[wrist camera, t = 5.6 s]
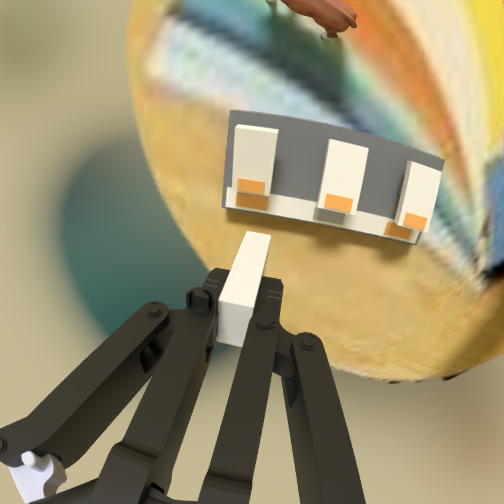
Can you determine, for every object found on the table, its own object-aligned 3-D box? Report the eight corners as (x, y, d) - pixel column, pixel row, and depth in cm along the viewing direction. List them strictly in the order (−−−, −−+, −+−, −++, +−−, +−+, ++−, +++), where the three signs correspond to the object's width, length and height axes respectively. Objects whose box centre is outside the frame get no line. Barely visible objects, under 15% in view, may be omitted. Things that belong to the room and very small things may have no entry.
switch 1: (278, 129, 25) (277, 133, 24) (270, 190, 29) (269, 196, 28) (237, 124, 25) (234, 128, 24) (234, 184, 30) (231, 190, 29)
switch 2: (436, 170, 24) (442, 171, 23) (422, 229, 27) (427, 233, 26) (407, 160, 25) (412, 161, 24) (394, 222, 27) (398, 225, 26)
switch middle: (365, 148, 25) (369, 148, 24) (352, 212, 28) (355, 215, 26) (328, 139, 25) (330, 138, 24) (316, 205, 28) (317, 207, 27)
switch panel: (437, 156, 26) (450, 163, 23) (411, 238, 32) (420, 251, 29) (234, 109, 28) (226, 110, 25) (225, 202, 34) (218, 212, 31)
